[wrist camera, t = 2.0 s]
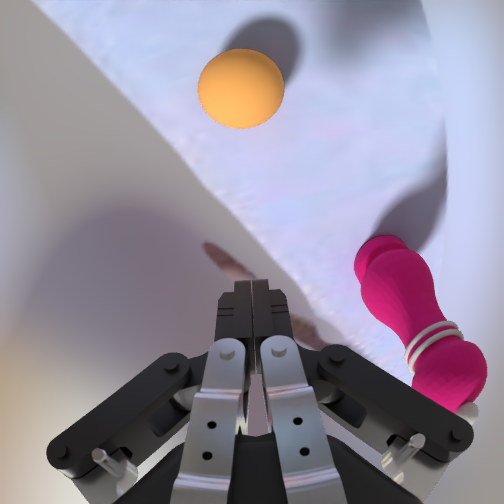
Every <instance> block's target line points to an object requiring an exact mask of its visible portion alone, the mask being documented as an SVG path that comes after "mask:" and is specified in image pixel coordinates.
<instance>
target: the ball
mask: <svg viewBox="0 0 504 504" xmlns="http://www.w3.org/2000/svg"><path fill="white" fill-rule="evenodd" d="M198 96H199V100H200V103H201V105H202V107H203V109H204V110H205V112H206V113H207V114H208V115H209V116H210V117H211V118H212V119H213V120H215V121H216V122H218V123H220V124H222V125H224V126H227V127H231V128H237V129H244V128H251V127H255V126H257V125H260V124H262V123H264V122H265V121H267V120H268V119H270V118H271V117H272V116H273V115H274V114H275V113H276V111H277V110H278V108H279V107H280V105H281V103H282V100H283V96H284V80H283V76H282V74H281V72H280V70H279V68H278V67H277V65H276V64H275V63H274V62H273V61H272V60H271V59H270V58H269V57H267V56H266V55H264V54H262V53H260V52H258V51H255V50H251V49H232V50H228V51H225V52H223V53H221V54H219V55H217V56H216V57H214V58H213V59H212V60H211V61H210V62H209V63H208V64H207V65H206V66H205V68H204V69H203V71H202V73H201V75H200V78H199V82H198Z"/></svg>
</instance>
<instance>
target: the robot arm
mask: <svg viewBox="0 0 504 504" xmlns="http://www.w3.org/2000/svg"><path fill="white" fill-rule="evenodd" d="M252 293H253V305H252ZM253 318H254V324H253ZM254 340H255V350H254ZM254 351H255V352H254ZM255 353H256V366H257V374H262V386H263V396H264V402H265V409H266V415H267V422H268V429H269V433H268V434H265V435H261V436H258V437H254V436H248V435H247V423H248V410H249V395H250V384H251V381H250V380H251V378H250V374H255ZM319 409H320V410H321V411H323V412H324V413H325V414H327V415H328V416H329V417H330V418H332V419H333V420H334V421H336V422H337V423H339V424H340V425H341V426H343V427H344V428H345V429H347V430H348V431H349V432H351V433H352V434H353V435H355V436H356V437H358V438H359V439H360V440H362V441H363V442H365V443H366V444H368V445H369V446H370V447H372V448H374V449H375V450H376V451H378V452H379V453H381V454H382V455H383V456H382V461H381V462H382V467H383V469H384V470H385V471H386V472H387V473H388V474H389V475H390V477H391V478H392V479H391V478H389V477H388V476H386V475H385V474H384V473H383V472H381V471H380V470H378V469H377V468H376V467H375V466H373V465H372V464H371V463H369V462H368V461H367V460H365V459H364V458H363V457H361V456H360V455H359V454H357V453H356V452H355V451H354V450H352V449H351V448H350V447H349V446H347V445H346V444H345V443H343V442H342V441H340V440H338V439H337V438H335V437H332V436H330V435H327V434H326V433H325V429H324V425H323V422H322V418H321V415H320V411H319ZM188 422H189V425H188V429H187V435H186V439H185V442H183V443H182V444H180V445H178V446H176V447H175V448H174V449H172V450H171V451H170V452H169V453H168V454H167V455H166V456H165V457H164V458H163V459H162V460H160V461H159V462H158V463H157V464H156V465H155V466H154V467H153V468H152V469H151V470H150V471H149V472H148V473H147V474H145V475H144V476H143V477H142V478H141V479H140V480H139V481H138V482H137V483H135V482H136V481H137V478H138V469H137V467H138V466H139V465H140V464H141V463H142V462H143V461H145V460H146V459H147V458H148V457H149V456H150V455H152V454H153V453H154V452H155V451H156V450H157V449H159V448H160V447H161V446H162V445H163V444H164V443H165V442H167V441H168V440H169V439H170V438H171V437H172V436H173V435H174V434H176V433H177V432H178V431H179V430H180V429H181V428H182V427H183V426H184V425H185V424H186V423H188ZM473 437H474V432H473V429H472V426H471V425H470V423H469V422H468V421H466V420H465V419H463V418H461V417H460V416H458V415H456V414H455V413H453V412H451V411H450V410H448V409H446V408H445V407H443V406H441V405H440V404H438V403H436V402H435V401H433V400H431V399H430V398H428V397H426V396H425V395H423V394H421V393H420V392H418V391H416V390H415V389H413V388H411V387H410V386H408V385H407V384H405V383H403V382H402V381H400V380H398V379H397V378H395V377H394V376H392V375H390V374H389V373H387V372H386V371H384V370H382V369H381V368H379V367H378V366H376V365H374V364H373V363H371V362H370V361H368V360H367V359H365V358H363V357H362V356H360V355H359V354H357V353H356V352H354V351H352V350H351V349H349V348H348V347H346V346H343V345H338V344H333V345H329V346H326V347H325V348H323V349H322V350H321V351H320V352H319V351H313V350H308V349H305V348H302V347H301V346H299V345H298V344H297V343H296V342H295V340H294V338H293V333H292V327H291V321H290V316H289V310H288V306H287V299H286V296H285V294H284V293H283V292H282V291H281V290H280V289H277V290H269V285H268V279H259V280H252V292H251V280H243V281H235V285H234V292H225V293H223V294H222V296H221V297H220V299H219V300H218V310H217V319H216V330H215V340H214V343H213V344H212V346H211V347H210V348H209V351H208V352H207V353H205V354H203V355H201V356H198V357H194V358H191V359H187V357H186V356H184V355H183V354H180V353H167V354H164V355H163V356H161V357H159V358H158V359H157V360H156V361H154V362H153V363H152V364H151V365H149V366H148V367H147V368H146V369H144V370H143V371H142V372H141V373H139V374H138V375H137V376H136V377H134V378H133V379H132V380H130V381H129V382H128V383H126V384H125V385H124V386H123V387H121V388H120V389H119V390H118V391H116V392H115V393H114V394H112V395H111V396H110V397H108V398H107V399H106V400H104V401H103V402H102V403H101V404H99V405H98V406H97V407H95V408H94V409H93V410H91V411H90V412H89V413H87V414H86V415H85V416H83V417H82V418H81V419H80V420H78V421H77V422H76V423H74V424H73V425H72V426H70V427H69V428H68V429H66V430H65V431H64V432H62V433H61V434H60V435H58V436H57V437H55V438H54V439H53V440H52V441H51V442H50V443H49V445H48V447H47V451H46V454H47V459H48V461H49V463H50V464H51V465H52V466H53V467H54V468H56V469H57V470H59V471H60V472H62V473H63V474H64V475H65V476H66V477H68V478H69V479H71V480H72V481H73V483H74V484H75V485H76V487H77V488H78V489H79V491H80V492H81V493H82V494H83V496H84V497H85V498H86V500H87V501H88V502H89V503H90V504H423V502H424V501H425V499H426V498H427V497H428V495H429V494H430V492H431V491H432V490H433V488H434V486H435V485H436V484H437V482H438V481H439V479H440V478H441V476H442V474H443V473H444V471H445V470H446V468H447V466H448V465H449V463H450V462H451V461H453V460H454V459H455V458H457V457H458V456H459V455H460V454H461V453H463V452H464V451H465V450H466V449H467V448H468V447H469V446H470V445H471V443H472V441H473ZM134 483H135V484H134Z"/></svg>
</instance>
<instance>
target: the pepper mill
mask: <svg viewBox="0 0 504 504" xmlns="http://www.w3.org/2000/svg"><path fill="white" fill-rule="evenodd" d="M354 271H355V274H356V276H357V278H358V280H359V282H360V284H361V296H362V299H363V302H364V303H365V305H366V307H367V308H368V310H369V311H370V313H371V314H372V315H373V316H374V317H375V318H376V319H378V320H379V321H381V322H382V323H384V324H385V325H387V326H388V327H390V328H391V329H392V330H393V331H394V332H395V333H396V334H397V335H398V336H399V338H400V339H401V341H402V342H403V344H404V346H405V349H406V351H405V354H404V360H405V362H406V364H407V365H408V368H409V371H410V372H411V373H412V374H414V377H413V380H412V386H411V388H413V389H415V390H416V391H418V392H420V393H421V394H423V395H425V396H426V397H428V398H430V399H431V400H433V401H435V402H436V403H438V404H440V405H441V406H443V407H445V408H446V409H448V410H450V411H451V412H453V413H455V414H456V415H458V416H460V417H461V418H463V419H465V420H466V421H468V422H469V423H470V425H472V424H473V423H474V422H475V421H476V419H477V417H478V407H477V405H475V404H474V403H472V402H473V401H474V400H475V399H476V398H477V397H478V396H479V394H480V393H481V391H482V389H483V388H484V385H485V382H486V378H487V364H486V360H485V358H484V356H483V353H482V352H481V350H480V349H479V348H478V347H477V346H476V345H475V344H474V343H471V342H468V341H464V337H463V334H462V332H461V331H459V330H458V326H457V325H456V324H455V323H454V322H452V321H447V319H446V318H445V317H444V316H443V314H442V312H441V310H440V308H439V306H438V303H437V300H436V296H435V290H434V282H433V277H432V274H431V272H430V269H429V267H428V265H427V264H426V262H425V261H424V259H423V258H422V257H421V256H420V255H419V254H417V253H416V252H414V251H411V250H409V249H408V248H407V247H406V245H405V244H404V243H403V242H402V241H401V240H400V239H399V238H397V237H395V236H392V235H382V236H378V237H375V238H373V239H371V240H369V241H368V242H367V243H366V244H364V245H363V247H362V248H361V249H360V250H359V252H358V254H357V256H356V258H355V262H354Z"/></svg>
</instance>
